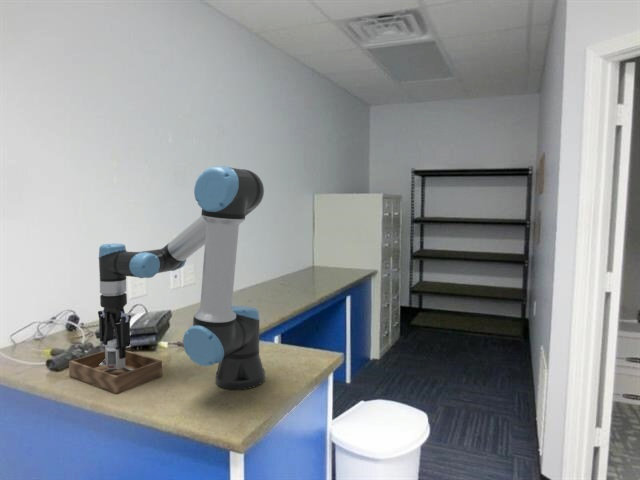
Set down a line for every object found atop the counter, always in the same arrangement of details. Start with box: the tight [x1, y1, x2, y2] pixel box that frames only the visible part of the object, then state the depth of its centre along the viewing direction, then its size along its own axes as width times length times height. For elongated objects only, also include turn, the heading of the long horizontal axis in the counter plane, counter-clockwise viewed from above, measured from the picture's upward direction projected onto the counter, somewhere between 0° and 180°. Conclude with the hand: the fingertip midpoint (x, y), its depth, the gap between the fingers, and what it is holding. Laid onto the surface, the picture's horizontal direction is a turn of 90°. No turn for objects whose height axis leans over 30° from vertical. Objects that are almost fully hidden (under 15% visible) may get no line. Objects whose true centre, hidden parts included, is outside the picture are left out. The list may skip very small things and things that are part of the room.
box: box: [68, 350, 163, 395], centre depth 141 cm, size 24×16×5 cm, turn 58°
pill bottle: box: [107, 338, 117, 369], centre depth 140 cm, size 5×5×8 cm
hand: (115, 366), depth 141 cm, fingers closed on pill bottle, 5 cm apart
